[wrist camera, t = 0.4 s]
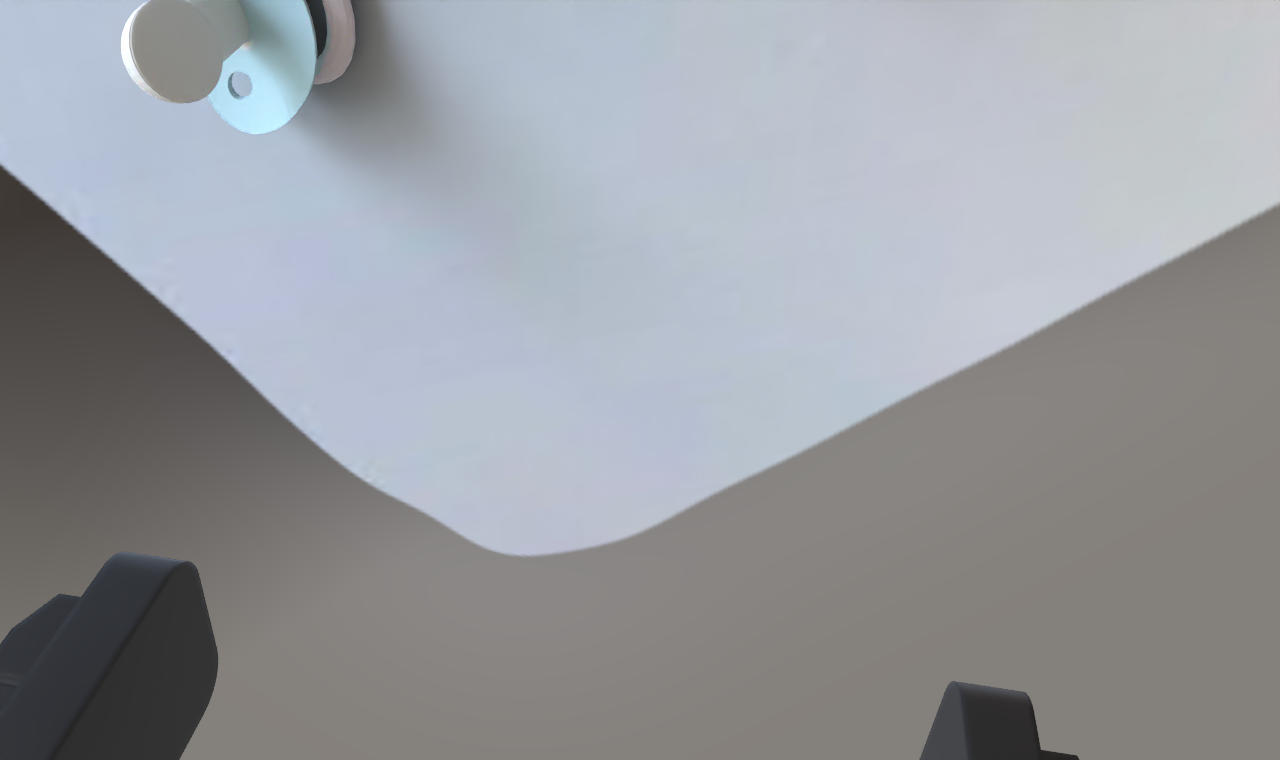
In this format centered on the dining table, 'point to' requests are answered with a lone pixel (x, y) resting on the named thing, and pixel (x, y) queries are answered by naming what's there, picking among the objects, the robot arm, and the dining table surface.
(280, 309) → the dining table surface
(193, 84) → the pacifier
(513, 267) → the dining table surface
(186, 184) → the dining table surface
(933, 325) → the dining table surface
